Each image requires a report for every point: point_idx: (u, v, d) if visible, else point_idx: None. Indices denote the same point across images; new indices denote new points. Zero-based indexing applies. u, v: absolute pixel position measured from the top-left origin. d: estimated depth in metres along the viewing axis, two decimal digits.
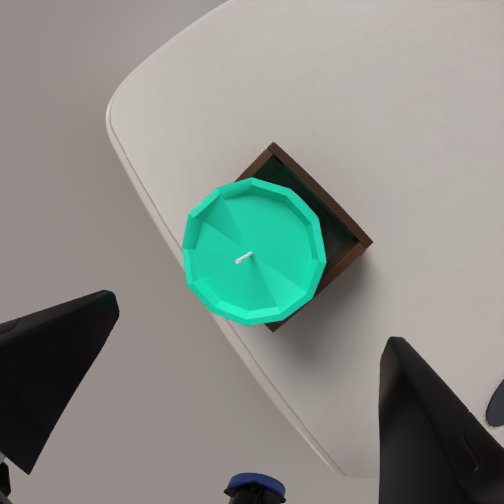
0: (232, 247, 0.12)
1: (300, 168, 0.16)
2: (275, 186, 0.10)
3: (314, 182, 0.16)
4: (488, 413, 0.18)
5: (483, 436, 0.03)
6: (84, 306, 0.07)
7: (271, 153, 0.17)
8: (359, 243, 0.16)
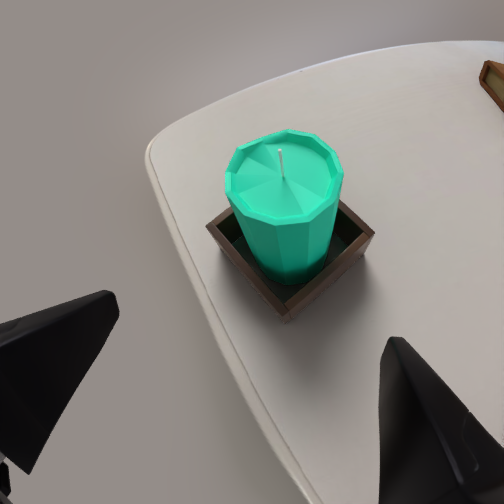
0: (268, 172, 0.14)
1: None
2: (304, 132, 0.14)
3: None
4: None
5: (483, 436, 0.03)
6: (84, 306, 0.07)
7: None
8: (363, 233, 0.18)
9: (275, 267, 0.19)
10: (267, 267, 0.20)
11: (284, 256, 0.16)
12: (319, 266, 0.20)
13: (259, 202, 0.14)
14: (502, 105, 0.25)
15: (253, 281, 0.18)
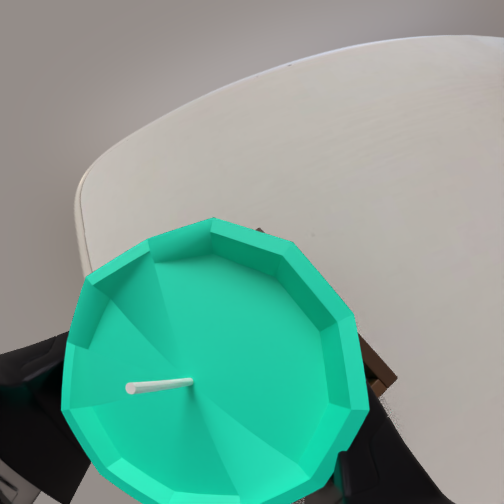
0: (152, 361, 0.05)
1: None
2: (260, 236, 0.05)
3: None
4: None
5: (401, 447, 0.03)
6: None
7: None
8: (377, 381, 0.09)
9: None
10: None
11: None
12: None
13: (134, 444, 0.04)
14: None
15: None
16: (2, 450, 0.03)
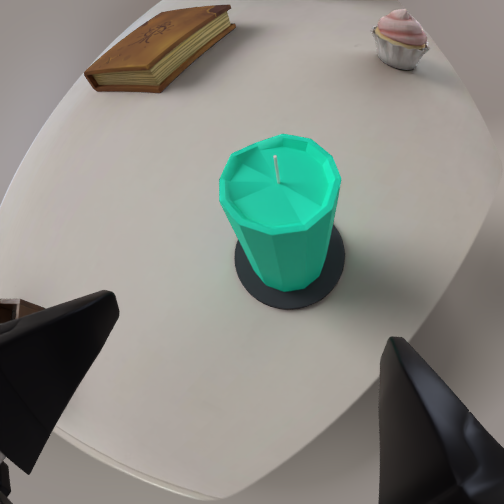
0: (263, 179, 0.14)
1: None
2: (300, 137, 0.14)
3: (0, 299, 0.22)
4: (270, 303, 0.22)
5: (483, 436, 0.03)
6: (84, 306, 0.07)
7: None
8: (17, 305, 0.22)
9: (272, 274, 0.18)
10: (264, 274, 0.19)
11: (280, 264, 0.16)
12: (317, 272, 0.20)
13: (254, 210, 0.13)
14: (113, 88, 0.39)
15: None
16: None
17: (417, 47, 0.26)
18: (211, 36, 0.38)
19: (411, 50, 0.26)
